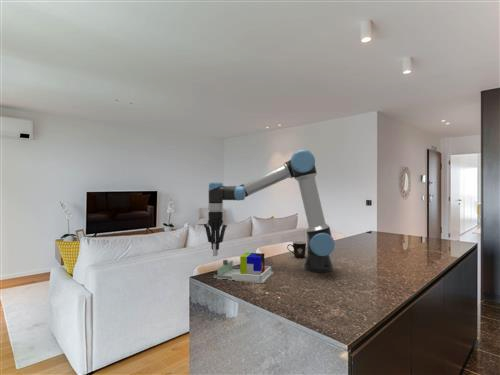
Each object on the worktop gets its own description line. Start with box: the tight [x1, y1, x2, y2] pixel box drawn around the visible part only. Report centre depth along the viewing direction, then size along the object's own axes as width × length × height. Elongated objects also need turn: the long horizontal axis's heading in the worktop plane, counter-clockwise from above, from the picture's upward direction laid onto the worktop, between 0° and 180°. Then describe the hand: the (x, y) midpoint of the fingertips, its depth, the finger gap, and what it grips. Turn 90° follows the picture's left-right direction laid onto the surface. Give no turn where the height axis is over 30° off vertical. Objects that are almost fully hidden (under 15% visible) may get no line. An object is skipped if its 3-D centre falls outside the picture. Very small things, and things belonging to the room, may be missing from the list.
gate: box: [217, 259, 234, 275], centre depth 148 cm, size 2×17×6 cm, turn 160°
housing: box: [213, 265, 275, 284], centre depth 144 cm, size 26×19×3 cm
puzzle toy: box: [239, 252, 266, 275], centre depth 143 cm, size 10×10×10 cm
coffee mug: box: [286, 241, 307, 259], centre depth 185 cm, size 12×9×10 cm
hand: (215, 255), depth 150 cm, fingers closed
